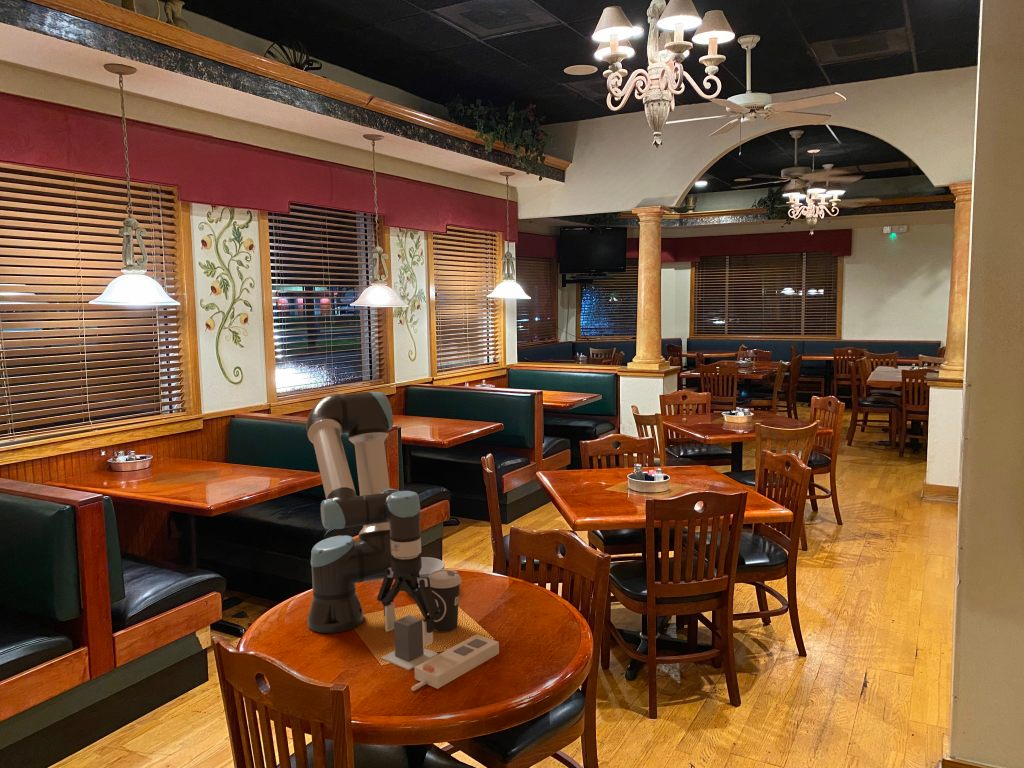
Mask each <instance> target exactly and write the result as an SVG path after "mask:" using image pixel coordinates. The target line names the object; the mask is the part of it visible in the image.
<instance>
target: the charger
mask: <svg viewBox="0 0 1024 768" xmlns="http://www.w3.org/2000/svg"><path fill="white" fill-rule="evenodd" d="M422 620H423V619H421V618H418V617H415V616H412V615H409V614H408V615H406V616H404V617H401V618H399V619H397V620H395V622H394V629H393V631H394V651H395V656H396V657H398V658H400V659H403V660H405V661H408V662H410V661H412V660H414V659H416V658H418V657H420V656H422V655H424V651H423V648H424V646H423V630H422Z"/></svg>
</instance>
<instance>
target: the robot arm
mask: <svg viewBox="0 0 1024 768" xmlns="http://www.w3.org/2000/svg"><path fill="white" fill-rule="evenodd" d="M305 427H306V428H305V429H306V433H307V434H306V435H307V438H308V440H309V441H310V442H311V443H312V444H313V448H314V451H315V452H314V453H315V455H316V461H317V466H318V470H319V474H320V478H321V482H322V486H323V491H324V495H325V499H323V500H322V501H321V503H320V517H321V524H322V526H323V528H324V529H326V530H341V529H345V528H347V529H348V528H353V527H361V526H362V529H361V530H360V531H359V533H358V538H359V540H358V539H357V540H355V539H354V538H353V536H350V535H336V536H330V537H328V538H325V539H322V540H320V541H318V542H317V543H316V544H315V545H314V546H313V547H312V549H311V551H310V552H311V554H310V556H311V557H310V565H311V577H312V578H311V580H312V600H311V605H310V608H309V612H308V614H307V627H308V628H309V629H310V630H311V631H313V632H316V633H320V634H321V633H322V634H335V633H342V632H347V631H350V630H352V629H354V628H357V627H358V626H360V625H361V624H362V622H364V610H363V608H362V605H361V602H360V600H359V597H358V594H357V591H356V588H357V587H356V584H360V583H366V582H372V581H379V580H382V584H381V586H380V589H379V592H378V593H377V594H378V595H377V597H376V601H378V602H381V605H382V606H383V616H384V625H385V632H390V631H392V630H394V622H395V621H396V605H395V603H394V602H395V601H394V599H396V598H397V596H398V595H399V593H400V592H405V593H406V594H409V596H410V597H412V598H413V600H414V602H415V604H416V606H417V607H418V609H419V612H420V613H421V615H422V616H423V619H421V620H422V630H423V647H426V646H428V645H431V644H433V643H434V631H435V630H434V619H436V618H438V617H440V612H439V609H438V606H437V604H436V601H435V598H434V595H433V592H432V590H431V587H430V579H429V578H428V577H427V578H420V575H419V572H420V570H421V568H422V561H421V557H422V554H421V553H422V540H421V536H422V535H421V504H420V496H419V494H418V493H417V492H415V491H411V490H398V489H395V488H390V480H389V471H388V463H387V455H386V447H385V440H387V438H388V437H389V431H390V430H392V429H393V428H394V417H393V409H392V407H391V404H390V400H389V398H388V397H387V395H386V394H384V393H383V392H381V391H378V392H377V391H365V392H352V393H349V392H348V393H340V394H339V393H335V394H330V395H327V396H325V397H323V398H321V399H320V400H319V401H318V402H317V403H316V404H314V406H313V407H312V409H311V410H310V412H309V415H308V416H307V421H306V426H305ZM343 434H344V435H345V434H346V435H347V436H348V437H347V438H348V441H350V443H352V444H353V445H354V449H355V450H354V451H355V453H354V454H355V461H356V462H355V463H356V469H357V478H358V479H357V481H358V489H359V495H357V492H356V489H355V484H354V482H353V478H352V474H351V471H350V467H349V462H348V459H347V455H346V452H345V449H344V444H343V442H342V438H341V436H342V435H343ZM416 589H418V590H417V591H415V590H416Z"/></svg>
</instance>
